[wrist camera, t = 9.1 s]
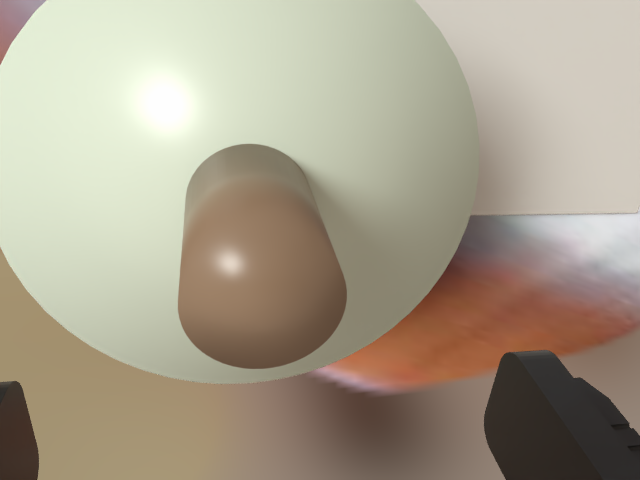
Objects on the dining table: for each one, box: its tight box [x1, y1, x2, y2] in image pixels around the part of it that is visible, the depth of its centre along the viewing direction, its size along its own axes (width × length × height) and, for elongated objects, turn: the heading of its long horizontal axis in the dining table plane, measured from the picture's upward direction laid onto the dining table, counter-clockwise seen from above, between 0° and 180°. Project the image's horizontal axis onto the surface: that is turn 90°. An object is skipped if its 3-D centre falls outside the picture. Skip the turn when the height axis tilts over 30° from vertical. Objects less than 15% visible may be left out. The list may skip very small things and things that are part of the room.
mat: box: [415, 0, 640, 216], centre depth 27 cm, size 16×16×1 cm
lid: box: [0, 0, 480, 384], centre depth 15 cm, size 14×14×6 cm
